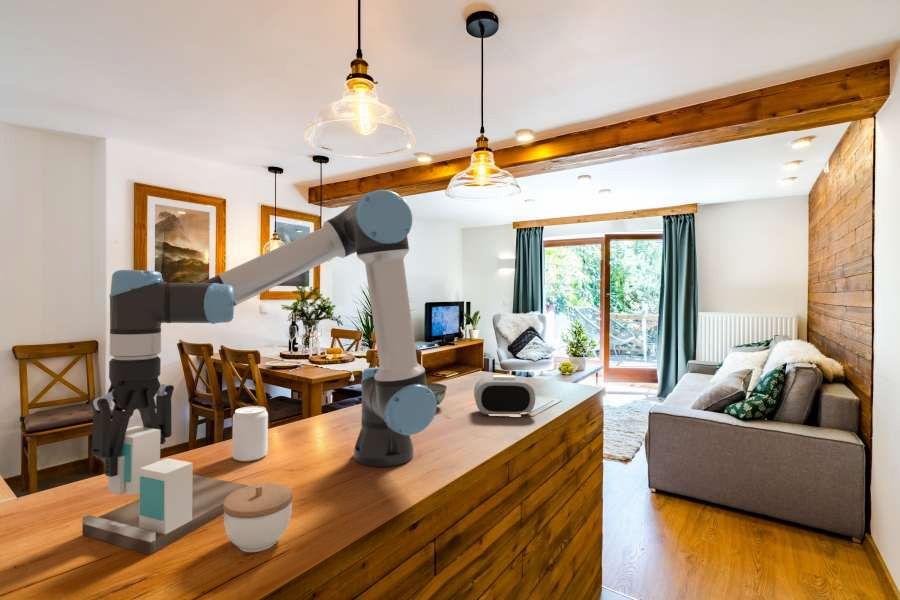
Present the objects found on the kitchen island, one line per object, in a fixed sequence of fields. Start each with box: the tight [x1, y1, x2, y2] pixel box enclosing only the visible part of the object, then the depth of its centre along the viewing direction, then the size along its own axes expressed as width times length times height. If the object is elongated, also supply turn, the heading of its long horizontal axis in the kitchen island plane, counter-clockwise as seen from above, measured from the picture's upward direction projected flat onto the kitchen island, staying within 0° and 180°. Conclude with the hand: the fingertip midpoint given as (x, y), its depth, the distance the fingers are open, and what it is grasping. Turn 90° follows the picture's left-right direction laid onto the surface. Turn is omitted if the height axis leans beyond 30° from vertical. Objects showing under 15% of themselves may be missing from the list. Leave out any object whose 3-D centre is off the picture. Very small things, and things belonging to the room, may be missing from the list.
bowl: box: [427, 382, 447, 406], centre depth 165 cm, size 14×13×8 cm
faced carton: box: [138, 457, 194, 534], centre depth 76 cm, size 5×6×10 cm
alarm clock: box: [473, 374, 536, 415], centre depth 158 cm, size 21×10×13 cm, turn 90°
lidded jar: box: [223, 482, 294, 553], centre depth 75 cm, size 11×11×9 cm
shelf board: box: [82, 474, 250, 556], centre depth 84 cm, size 16×22×3 cm
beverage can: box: [231, 405, 269, 462], centre depth 113 cm, size 8×8×12 cm
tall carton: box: [107, 425, 161, 497], centre depth 80 cm, size 5×6×10 cm
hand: (133, 485), depth 80 cm, fingers closed on tall carton, 5 cm apart
